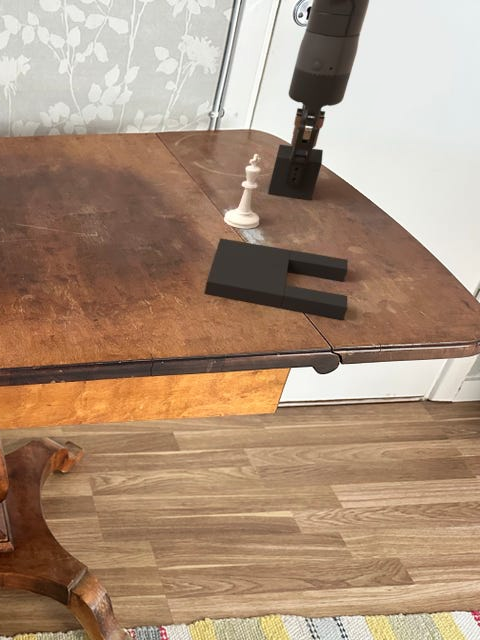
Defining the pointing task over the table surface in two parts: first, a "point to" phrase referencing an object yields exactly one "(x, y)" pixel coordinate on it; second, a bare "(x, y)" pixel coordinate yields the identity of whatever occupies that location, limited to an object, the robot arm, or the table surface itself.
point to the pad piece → (281, 173)
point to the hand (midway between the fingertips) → (293, 177)
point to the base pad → (275, 277)
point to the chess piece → (245, 200)
